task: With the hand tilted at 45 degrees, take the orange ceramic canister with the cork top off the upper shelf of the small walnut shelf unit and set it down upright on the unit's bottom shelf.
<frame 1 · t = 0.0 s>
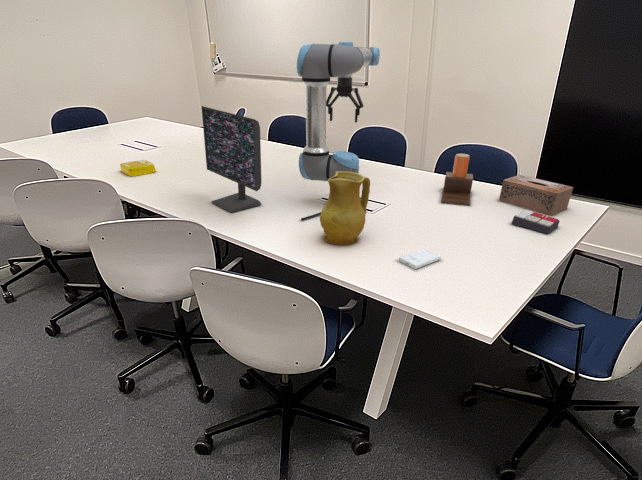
hand: (343, 121, 236), 28 cm above the table, tool pointing down, fingers open, 13 cm apart
canister: (459, 175, 219), point 8 cm above the table, touching shelf unit
element tile: (138, 172, 253), on the table
hard drive: (419, 261, 157), on the table
shelf unit: (456, 196, 217), on the table
pitcher: (344, 239, 173), on the table
tissue box cover: (531, 205, 208), on the table
computer monitor: (236, 204, 207), on the table
grey and red box: (534, 226, 186), on the table
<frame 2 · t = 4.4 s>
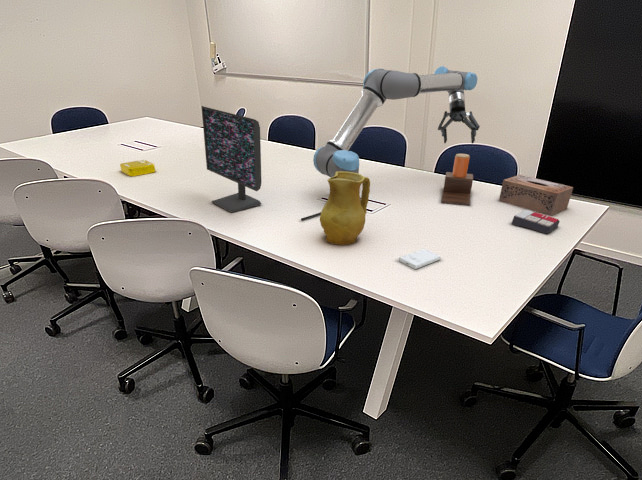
hand: (459, 141, 220), 22 cm above the table, tool tilted 45°, fingers open, 13 cm apart
nothing on the table moved.
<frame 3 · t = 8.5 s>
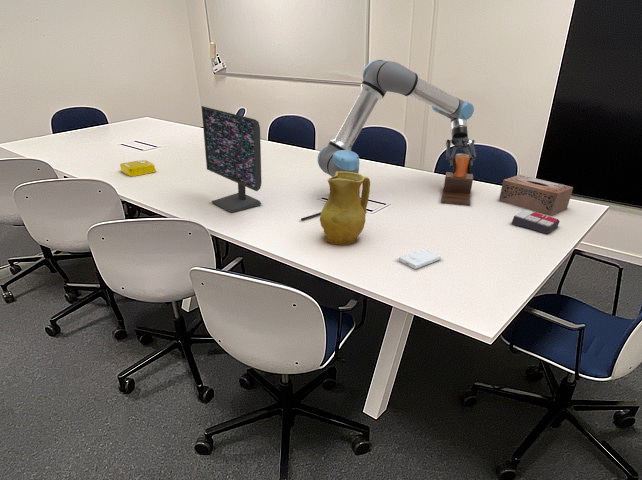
hand: (461, 172, 215), 11 cm above the table, tool tilted 45°, fingers closed on canister, 7 cm apart
canister: (459, 175, 219), point 9 cm above the table, touching gripper, shelf unit
everything else where it was.
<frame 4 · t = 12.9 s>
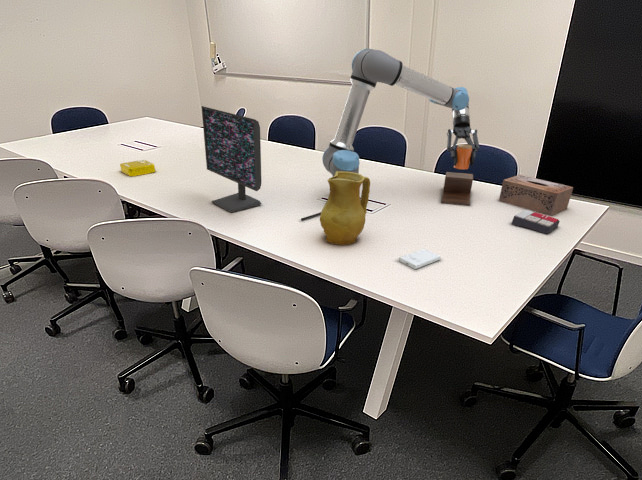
hand: (464, 164, 202), 18 cm above the table, tool tilted 45°, fingers closed on canister, 7 cm apart
canister: (461, 167, 206), point 15 cm above the table, touching gripper
everything else where it was.
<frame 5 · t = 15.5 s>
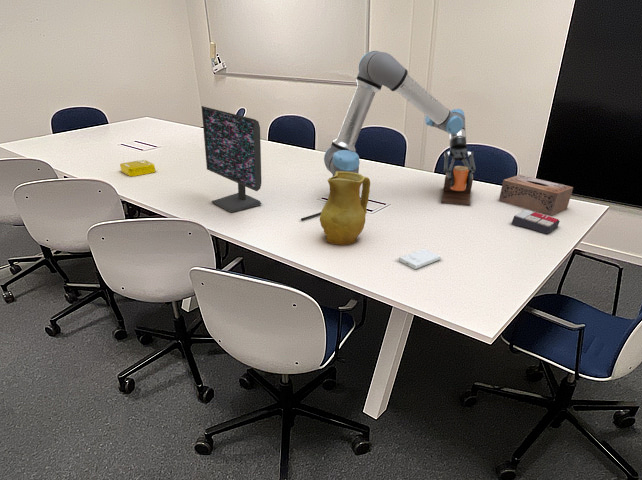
hand: (460, 185, 204), 9 cm above the table, tool tilted 45°, fingers closed on canister, 7 cm apart
canister: (457, 188, 208), point 6 cm above the table, touching gripper
everything else where it was.
when the fingers open (3 cm above the table, at t = 17.4 s): canister stays where it is, resting on shelf unit.
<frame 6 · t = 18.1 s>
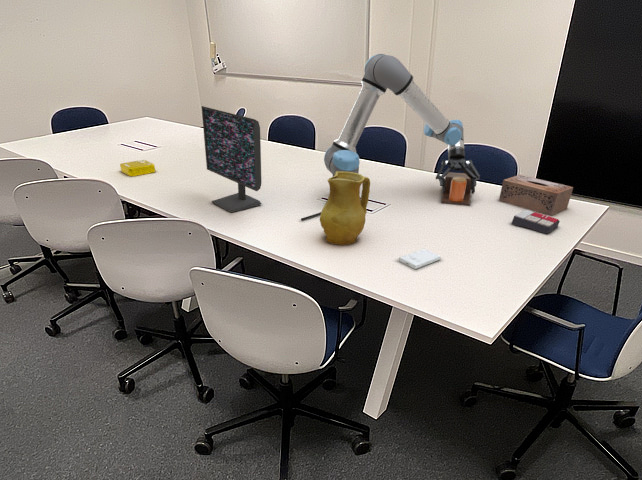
hand: (458, 192, 207), 5 cm above the table, tool tilted 45°, fingers open, 13 cm apart
canister: (456, 199, 211), point 1 cm above the table, touching shelf unit
everything else where it was.
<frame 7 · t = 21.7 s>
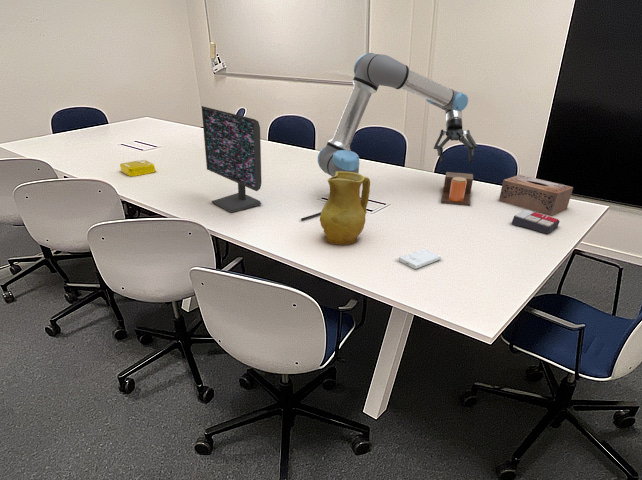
hand: (456, 161, 211), 16 cm above the table, tool tilted 45°, fingers open, 13 cm apart
nothing on the table moved.
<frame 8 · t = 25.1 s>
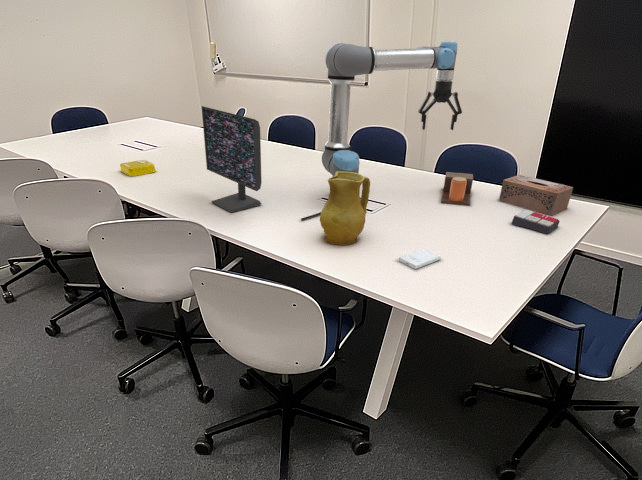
hand: (437, 129, 214), 29 cm above the table, tool pointing down, fingers open, 13 cm apart
nothing on the table moved.
at the end: canister inside the target area on the shelf unit (2.2 cm from its centre), point 1.0 cm above the shelf unit's base; canister tilted 0°; the gripper is holding nothing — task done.
